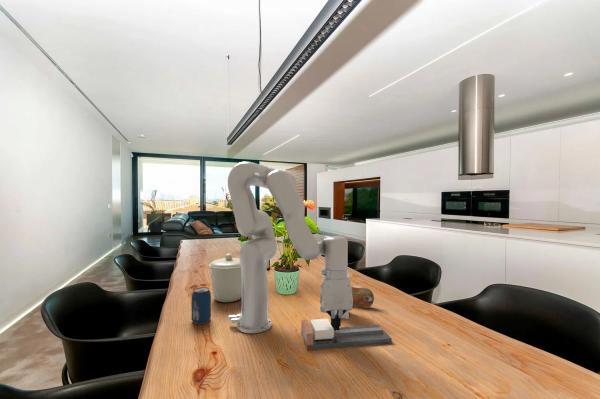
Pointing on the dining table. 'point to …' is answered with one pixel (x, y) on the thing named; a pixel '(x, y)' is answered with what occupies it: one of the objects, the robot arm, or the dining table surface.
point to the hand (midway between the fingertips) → (335, 328)
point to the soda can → (201, 305)
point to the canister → (226, 278)
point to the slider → (321, 329)
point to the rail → (346, 337)
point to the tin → (362, 297)
